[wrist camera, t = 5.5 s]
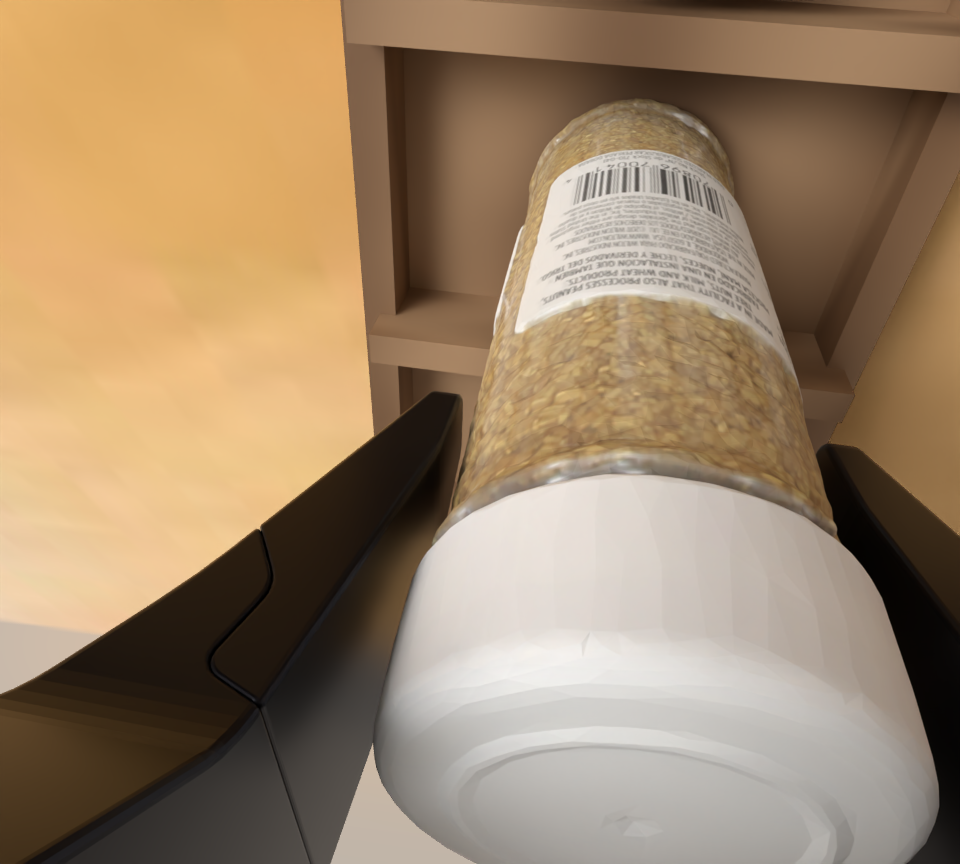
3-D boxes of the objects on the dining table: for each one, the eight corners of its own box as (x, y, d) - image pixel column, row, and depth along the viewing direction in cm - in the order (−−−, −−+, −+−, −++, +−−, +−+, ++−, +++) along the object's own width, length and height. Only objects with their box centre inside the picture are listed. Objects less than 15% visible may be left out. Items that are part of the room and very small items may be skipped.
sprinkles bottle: (501, 244, 17) (307, 834, 7) (584, 51, 14) (465, 586, 4) (667, 317, 17) (720, 966, 7) (782, 146, 14) (1136, 838, 4)
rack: (1290, -694, 8) (1537, -898, 6) (748, 539, 23) (762, 614, 21) (336, -672, 10) (243, -836, 7) (397, 488, 24) (372, 554, 22)
